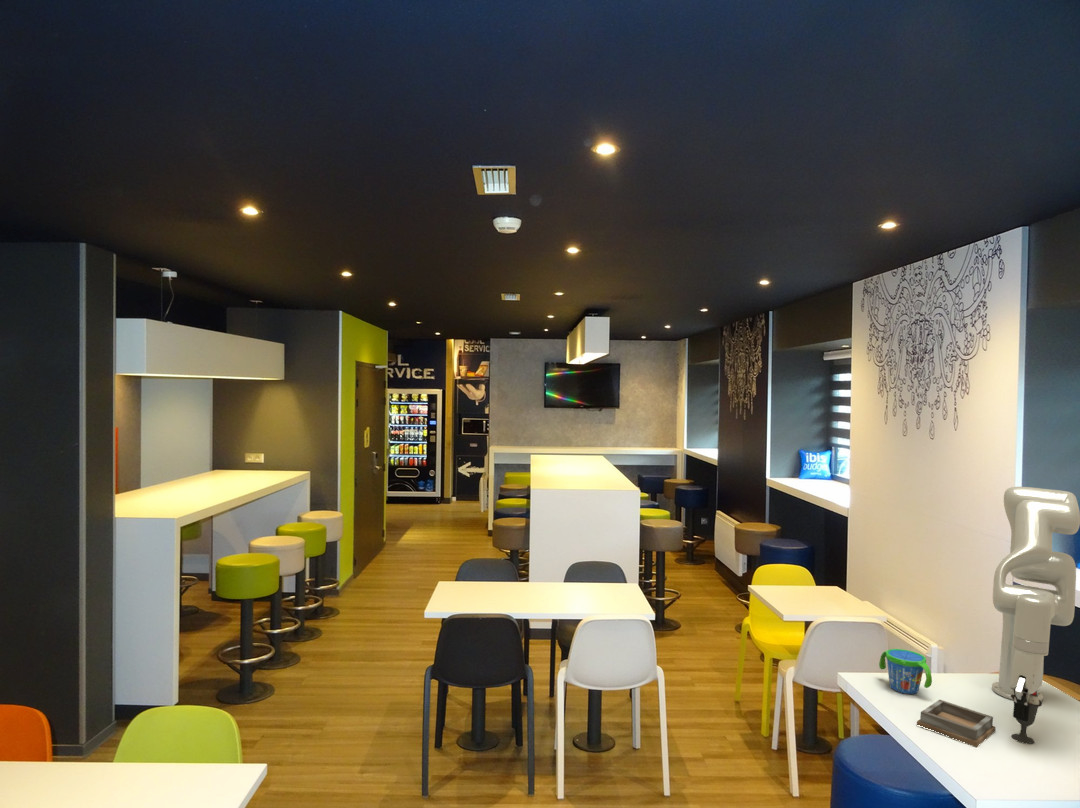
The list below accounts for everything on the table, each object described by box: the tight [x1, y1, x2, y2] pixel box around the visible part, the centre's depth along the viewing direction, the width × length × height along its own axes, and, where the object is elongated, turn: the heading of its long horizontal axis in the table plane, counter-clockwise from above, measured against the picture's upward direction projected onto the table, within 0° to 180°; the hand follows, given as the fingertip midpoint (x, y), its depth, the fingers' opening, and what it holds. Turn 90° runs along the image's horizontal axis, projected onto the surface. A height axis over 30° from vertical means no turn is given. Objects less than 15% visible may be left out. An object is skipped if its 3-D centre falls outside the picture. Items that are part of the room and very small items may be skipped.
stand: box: [916, 699, 997, 748], centre depth 195 cm, size 14×14×4 cm
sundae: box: [1011, 688, 1043, 745], centre depth 191 cm, size 7×7×15 cm
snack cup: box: [878, 648, 933, 695], centre depth 219 cm, size 16×10×10 cm
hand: (1025, 714), depth 191 cm, fingers closed on sundae, 6 cm apart
